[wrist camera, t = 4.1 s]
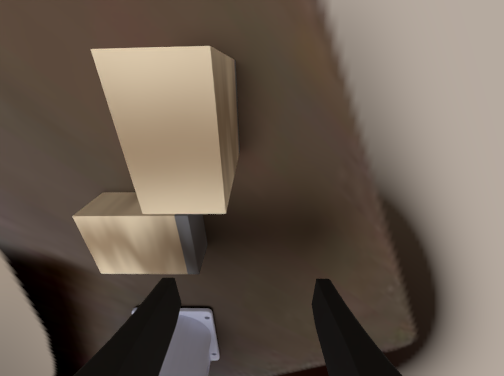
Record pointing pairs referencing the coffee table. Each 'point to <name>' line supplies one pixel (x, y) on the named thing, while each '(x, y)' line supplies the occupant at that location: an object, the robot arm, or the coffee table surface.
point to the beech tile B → (174, 124)
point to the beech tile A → (140, 237)
